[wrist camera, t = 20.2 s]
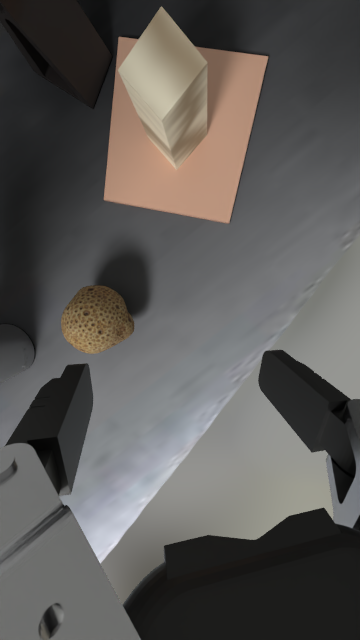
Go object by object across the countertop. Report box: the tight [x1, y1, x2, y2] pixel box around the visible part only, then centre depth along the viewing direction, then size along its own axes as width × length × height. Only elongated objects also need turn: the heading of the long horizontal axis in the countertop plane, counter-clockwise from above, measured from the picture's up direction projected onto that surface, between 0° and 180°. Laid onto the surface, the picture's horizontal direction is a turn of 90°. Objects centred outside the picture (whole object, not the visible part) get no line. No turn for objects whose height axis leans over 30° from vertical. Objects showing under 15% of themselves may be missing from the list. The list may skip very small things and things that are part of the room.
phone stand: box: [0, 0, 112, 108], centre depth 22 cm, size 9×6×12 cm, turn 59°
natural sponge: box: [61, 285, 134, 354], centre depth 30 cm, size 9×9×10 cm
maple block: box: [118, 6, 207, 170], centre depth 23 cm, size 5×5×10 cm
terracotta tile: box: [104, 37, 268, 224], centre depth 28 cm, size 18×18×1 cm
